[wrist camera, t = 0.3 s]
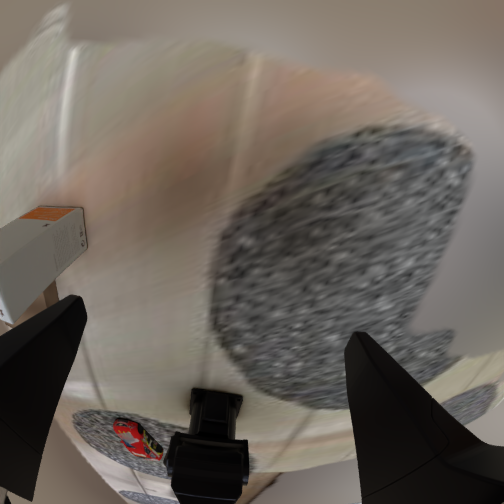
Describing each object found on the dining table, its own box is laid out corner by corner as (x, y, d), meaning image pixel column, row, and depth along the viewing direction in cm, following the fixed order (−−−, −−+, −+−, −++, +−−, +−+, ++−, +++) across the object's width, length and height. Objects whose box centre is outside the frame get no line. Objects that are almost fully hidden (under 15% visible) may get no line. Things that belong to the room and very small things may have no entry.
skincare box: (83, 205, 22) (-7, 271, 11) (88, 248, 24) (14, 328, 13) (37, 204, 21) (-48, 259, 11) (44, 243, 23) (-30, 309, 13)
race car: (110, 413, 37) (104, 432, 34) (137, 417, 37) (131, 436, 33) (143, 447, 43) (139, 463, 39) (167, 450, 43) (163, 467, 39)
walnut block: (69, 332, 29) (58, 348, 27) (16, 312, 28) (5, 324, 26) (54, 264, 25) (40, 279, 22) (0, 248, 24) (-15, 259, 21)
